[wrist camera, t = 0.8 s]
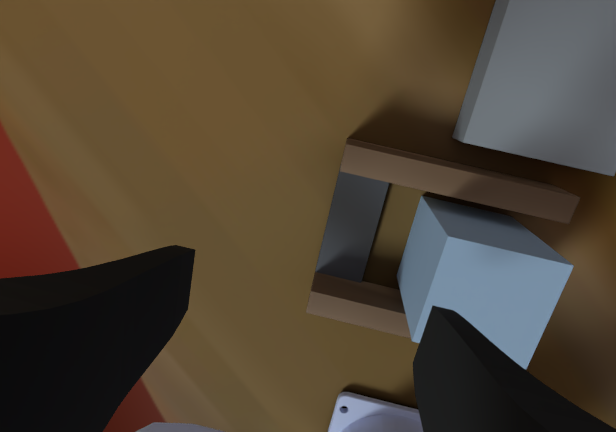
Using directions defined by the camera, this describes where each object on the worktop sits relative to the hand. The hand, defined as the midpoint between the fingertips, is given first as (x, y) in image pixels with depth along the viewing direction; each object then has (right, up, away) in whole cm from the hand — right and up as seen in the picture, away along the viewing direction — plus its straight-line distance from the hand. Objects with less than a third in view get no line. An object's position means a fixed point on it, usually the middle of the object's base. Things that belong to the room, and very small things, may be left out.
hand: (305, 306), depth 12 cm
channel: (+6, +1, +9) cm, 11 cm away
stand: (+11, +9, +6) cm, 15 cm away
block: (+7, +1, +9) cm, 12 cm away
